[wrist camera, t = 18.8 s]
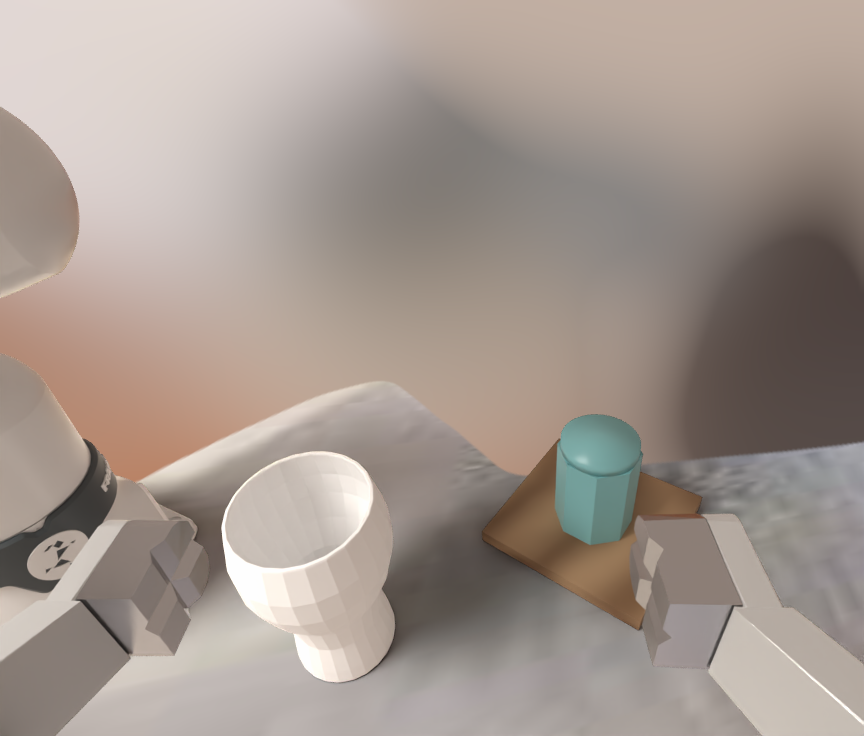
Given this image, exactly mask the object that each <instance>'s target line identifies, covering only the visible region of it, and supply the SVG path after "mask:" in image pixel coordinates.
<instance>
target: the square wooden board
mask: <svg viewBox="0 0 864 736" xmlns="http://www.w3.org/2000/svg"><path fill="white" fill-rule="evenodd" d="M560 440H561V439H558V440H557V442H556V443H555V444H554V445H553V446H552V448H551V449H550V450H549V451H548V452H547V454H546V455H545V456H544V457H543V458H542V460H541V461H540V462H539V463H538V464H537V466H536V467H535V468H534V469H533V470H532V472H531V473H530V474H529V475H528V476H527V478H526V479H525V480H524V481H523V482H522V484H521V485H520V486H519V487H518V489H517V490H516V491H515V492H514V493H513V495H512V496H511V497H510V498H509V499H508V501H507V502H506V503H505V504H504V505H503V507H502V508H501V509H500V510H499V511H498V513H497V514H496V515H495V516H494V517H493V519H492V520H491V521H490V522H489V524H488V525H487V526H486V527H485V528H484V530H483V531H482V539H483V540H484V541H485V542H487V543H489V544H490V545H492V546H494V547H496V548H497V549H499V550H501V551H502V552H504V553H506V554H508V555H509V556H511V557H513V558H515V559H516V560H518V561H520V562H521V563H523V564H525V565H527V566H528V567H530V568H532V569H533V570H535V571H537V572H539V573H540V574H542V575H544V576H546V577H547V578H549V579H551V580H552V581H554V582H556V583H558V584H559V585H561V586H563V587H564V588H566V589H568V590H570V591H571V592H573V593H575V594H577V595H578V596H580V597H582V598H583V599H585V600H587V601H589V602H590V603H592V604H594V605H595V606H597V607H599V608H601V609H602V610H604V611H606V612H607V613H609V614H611V615H613V616H614V617H616V618H618V619H620V620H621V621H623V622H625V623H626V624H628V625H630V626H632V627H633V628H635V629H637V630H638V631H639V628H640V626H641V624H642V622H643V619H644V615H645V609H644V608H643V607H642V606H641V605H640V604H639V603H638V602H637V601H636V600H635V596H634V592H633V588H632V583H631V577H630V563H629V556H630V548H631V545H632V544H633V543H634V542H636V541H637V538H636V534H635V531H634V526H635V521H636V518H637V517H638V515H655V514H696V513H697V511H698V509H699V507H700V504H701V500H702V497H701V496H698V495H696V494H693V493H691V492H688V491H686V490H684V489H681V488H679V487H676V486H674V485H671V484H669V483H667V482H664V481H662V480H659V479H657V478H654V477H652V476H649V475H647V474H645V473H642V472H640V474H639V480H638V486H637V492H636V498H635V503H634V509H633V515H632V521H631V522H630V524H629V526H628V527H627V529H626V530H625V532H624V534H623V535H622V537H621V539H620V540H619V541H614V542H607V543H600V544H594V545H589V544H587V543H585V542H583V541H581V540H579V539H578V538H576V537H574V536H572V535H570V534H568V533H566V532H564V531H563V529H562V527H561V524H560V521H559V519H558V516H557V513H556V510H555V490H556V466H557V443H558V442H559V441H560Z"/></svg>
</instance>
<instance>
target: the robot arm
mask: <svg viewBox="0 0 864 736" xmlns="http://www.w3.org/2000/svg"><path fill="white" fill-rule="evenodd" d="M78 234H79V209H78V203H77V198H76V195H75V191H74V188H73V186H72V183H71V181H70V179H69V177H68V175H67V173H66V171H65V169H64V167H63V166H62V164H61V162H60V161H59V160H58V158H57V157H56V156H55V154H54V153H53V152H52V150H51V149H50V148H49V146H48V145H47V144H46V143H45V142H44V141H43V140H42V139H41V138H40V137H39V136H38V135H37V134H36V133H35V132H34V131H33V130H31V129H30V128H29V127H28V126H27V125H26V124H24V123H23V122H22V121H21V120H20V119H18V118H17V117H15V116H14V115H12V114H11V113H9V112H8V111H6V110H5V109H3V108H1V107H0V298H2V297H5V296H8V295H10V294H13V293H15V292H18V291H20V290H23V289H25V288H27V287H29V286H32V285H34V284H36V283H38V282H41V281H43V280H45V279H48V278H50V277H52V276H54V275H57V274H59V273H61V272H62V271H63V270H64V269H65V268H66V266H67V264H68V263H69V261H70V259H71V257H72V255H73V252H74V250H75V247H76V243H77V239H78ZM634 531H635V534H636V538H637V541H636V542H634V543H633V544H632V545H631V548H630V556H629V563H630V577H631V583H632V588H633V592H634V596H635V600H636V601H637V602H638V603H639V604H640V605H641V606H642V607H643V608H644V609H645V615H644V619H643V624H642V627H643V631H644V635H645V639H646V643H647V646H648V650H649V654H650V658H651V661H652V665H653V666H656V667H676V668H697V669H709V670H708V673H709V674H710V675H711V676H712V677H713V679H714V680H715V681H716V682H717V683H718V684H719V686H720V687H721V688H722V689H723V690H724V691H725V693H726V694H727V695H728V696H729V697H730V699H731V700H732V701H733V702H734V703H735V704H736V706H737V707H738V708H739V709H740V710H741V711H742V713H743V714H744V715H745V716H746V717H747V718H748V720H749V721H750V722H751V723H752V724H753V726H754V727H755V728H756V729H757V730H758V731H759V733H760V734H761V735H762V736H864V664H863V663H862V662H861V661H859V660H858V659H857V658H856V657H854V656H853V655H852V654H851V653H850V652H848V651H847V650H846V649H845V648H843V647H842V646H841V645H840V644H838V643H837V642H836V641H835V640H833V639H832V638H831V637H830V636H828V635H827V634H826V633H825V632H824V631H822V630H821V629H820V628H819V627H817V626H816V625H815V624H814V623H812V622H811V621H810V620H809V619H807V618H806V617H805V616H804V615H802V614H801V613H800V612H799V611H797V610H796V609H795V608H793V607H783V605H782V603H781V601H780V599H779V597H778V595H777V593H776V591H775V589H774V587H773V585H772V583H771V581H770V579H769V577H768V575H767V573H766V571H765V569H764V567H763V565H762V563H761V561H760V559H759V557H758V555H757V553H756V551H755V549H754V547H753V545H752V543H751V541H750V539H749V537H748V535H747V533H746V531H745V529H744V527H743V525H742V523H741V521H740V519H739V518H737V517H736V516H735V515H734V514H700V515H699V514H698V513H696V514H655V515H638V517H637V518H636V521H635V526H634ZM196 533H197V526H196V525H195V523H194V522H193V521H192V520H191V519H190V518H188V517H186V516H183V515H181V514H179V513H177V512H175V511H173V510H171V509H168V508H166V507H164V506H162V505H160V504H158V503H157V502H156V501H155V499H154V498H153V496H152V495H151V493H150V492H149V491H148V489H147V488H146V487H145V486H144V485H143V484H142V483H138V484H136V483H135V482H133V481H131V480H129V479H125V478H123V477H119V476H116V475H114V474H113V472H112V471H111V469H110V466H109V464H108V462H107V461H106V459H105V458H104V456H103V455H102V454H100V452H99V451H98V450H97V449H96V448H95V446H94V445H93V444H92V443H91V442H89V441H88V440H86V439H83V438H81V436H80V435H79V433H78V432H77V430H76V429H75V427H74V426H73V424H72V423H71V421H70V420H69V418H68V416H67V415H66V413H65V412H64V410H63V409H62V407H61V406H60V404H59V403H58V401H57V400H56V398H55V397H54V395H53V394H52V392H51V391H50V389H49V388H48V387H47V385H46V383H45V382H44V380H43V379H42V378H41V377H40V375H38V374H37V373H36V372H35V371H34V370H32V369H31V368H30V367H29V366H27V365H26V364H24V363H22V362H21V361H19V360H17V359H15V358H13V357H10V356H8V355H5V354H1V353H0V736H56V734H57V733H58V732H59V731H60V730H61V729H62V728H63V727H64V726H65V725H66V724H67V723H68V722H69V721H70V720H71V719H72V718H73V717H74V716H75V715H76V714H77V713H78V712H79V711H80V710H81V709H82V708H83V707H84V706H85V705H86V704H87V703H88V702H89V701H90V700H91V699H92V698H93V697H94V696H95V695H96V694H97V693H98V692H99V691H100V690H101V689H102V687H103V686H104V685H105V684H106V683H107V682H108V681H109V680H110V679H111V678H112V677H113V676H114V675H115V674H116V673H117V672H118V671H119V670H120V669H121V668H122V667H123V666H124V665H125V664H126V663H127V662H128V661H129V660H130V657H129V656H174V655H175V653H176V651H177V649H178V646H179V644H180V642H181V640H182V638H183V636H184V633H185V631H186V629H187V627H188V625H189V622H190V620H191V618H190V614H189V609H188V608H189V607H190V606H191V605H192V604H193V603H195V602H196V601H197V600H198V599H199V598H200V597H201V596H202V594H203V591H204V589H205V587H206V584H207V582H208V576H209V569H210V563H209V558H208V554H207V552H206V550H205V548H204V547H203V546H202V545H200V544H199V543H197V542H195V541H194V538H195V536H196Z"/></svg>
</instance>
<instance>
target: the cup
mask: <svg viewBox="0 0 864 736" xmlns="http://www.w3.org/2000/svg"><path fill="white" fill-rule="evenodd" d="M221 528H222V537H223V546H224V553H225V559H226V566H227V572H228V574H229V576H230V578H231V580H232V582H233V584H234V585H235V587H236V589H237V591H238V593H239V594H240V596H241V598H242V600H243V601H244V603H245V605H246V606H247V607H248V608H249V609H251V610H252V611H253V612H254V613H255V614H256V615H258V616H259V617H260V618H262V619H263V620H265V621H266V622H268V623H270V624H271V625H273V626H275V627H276V628H279V629H282V630H284V631H287V632H289V633H292V634H294V637H295V642H296V646H297V651H298V654H299V658H300V660H301V662H302V663H303V665H304V667H305V669H307V670H308V671H309V672H310V673H311V674H312V675H313V676H314V677H317V678H319V679H322V680H324V681H327V682H339V683H340V682H345V681H350V680H354V679H356V678H358V677H360V676H362V675H365V674H367V673H368V672H369V671H370V670H372V669H373V668H374V667H375V666H376V665H378V664H379V662H380V661H381V660H382V659H383V657H384V656H385V655H386V653H387V652H388V649H389V647H390V645H391V643H392V641H393V636H394V631H395V619H394V613H393V610H392V608H391V605H390V603H389V601H388V599H387V597H386V595H385V594H384V592H383V590H382V587H383V585H384V583H385V581H386V578H387V574H388V569H389V564H390V559H391V554H392V549H393V544H394V541H393V531H392V524H391V520H390V515H389V511H388V507H387V505H386V503H385V500H384V498H383V496H382V494H381V492H380V491H379V489H378V487H377V486H376V484H375V483H374V481H373V480H372V478H371V476H370V475H369V473H368V472H367V471H366V470H365V469H364V468H363V467H362V466H361V465H360V464H359V463H358V462H357V461H355V460H353V459H351V458H349V457H347V456H345V455H342V454H338V453H333V452H327V451H311V452H305V453H300V454H294V455H291V456H289V457H286V458H283V459H280V460H277V461H275V462H274V463H272V464H270V465H268V466H266V467H264V468H263V469H261V470H259V471H258V472H257V473H256V474H254V475H253V476H252V477H251V478H249V479H248V480H247V481H246V482H245V483H244V484H243V485H242V486H241V487H240V488H239V490H238V491H237V492H236V493H235V494H234V496H233V497H232V499H231V501H230V503H229V505H228V507H227V508H226V510H225V514H224V518H223V523H222V527H221Z"/></svg>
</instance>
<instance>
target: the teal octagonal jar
mask: <svg viewBox="0 0 864 736" xmlns="http://www.w3.org/2000/svg"><path fill="white" fill-rule="evenodd" d="M640 449H641V440H640V437H639V435H638V434H637V432H636V431H635V430H634V429H633V428H632V427H631V426H630V425H629V424H627V423H626V422H624V421H622V420H620V419H617V418H614V417H611V416H606V415H598V414H595V415H585V416H581V417H578V418H575V419H573V420H571V421H570V422H569V423H568V424H566V425H565V427H564V428H563V430H562V433H561V440H560V441H559V442H558V443H557V466H556V490H555V510H556V513H557V516H558V519H559V521H560V524H561V527H562V529H563V531H564V532H566V533H568V534H570V535H572V536H574V537H576V538H578V539H579V540H581V541H583V542H585V543H587V544H589V545H594V544H600V543H607V542H614V541H619V540H620V539H621V537H622V535H623V534H624V532H625V530H626V529H627V527H628V526H629V524H630V522H631V521H632V515H633V509H634V503H635V498H636V492H637V486H638V480H639V474H640V469H641V463H642V457H643V453H642V452H641V450H640Z"/></svg>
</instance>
